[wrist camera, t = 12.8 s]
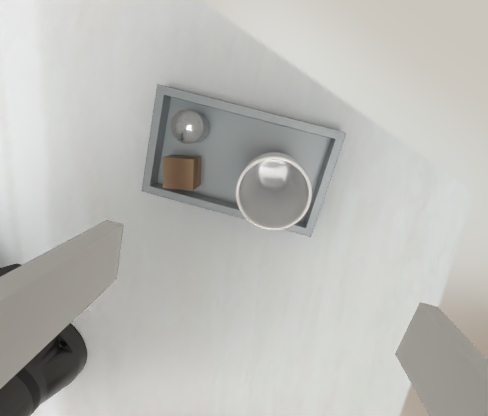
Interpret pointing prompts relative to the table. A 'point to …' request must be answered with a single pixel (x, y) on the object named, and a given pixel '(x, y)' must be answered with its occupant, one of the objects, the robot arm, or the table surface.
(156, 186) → the collection tray
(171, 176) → the walnut cube
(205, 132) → the metal cylinder
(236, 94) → the table surface
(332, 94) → the table surface
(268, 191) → the drinking glass
